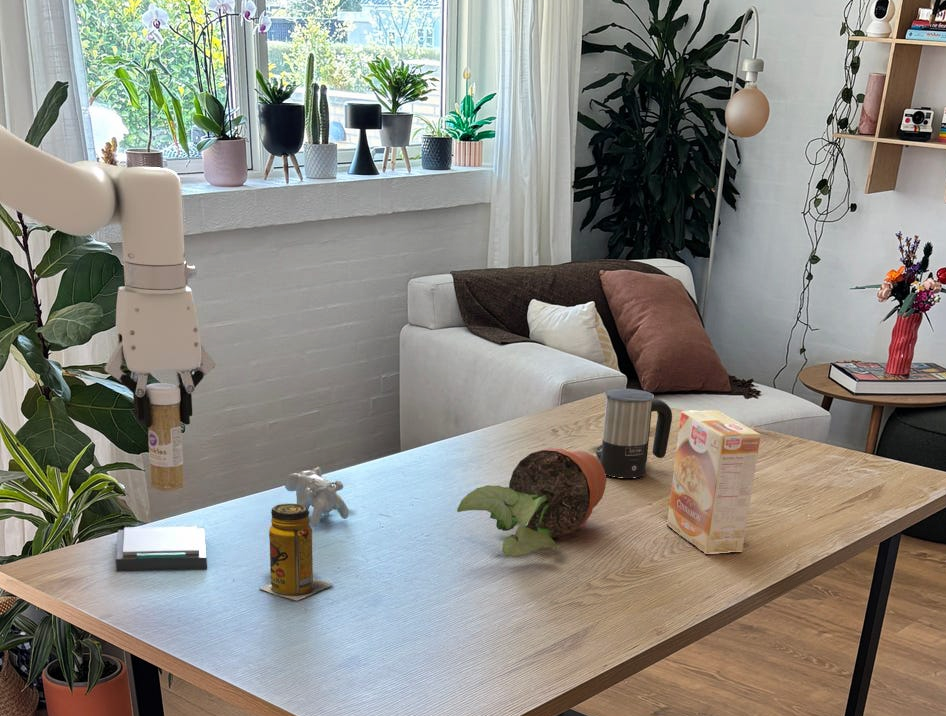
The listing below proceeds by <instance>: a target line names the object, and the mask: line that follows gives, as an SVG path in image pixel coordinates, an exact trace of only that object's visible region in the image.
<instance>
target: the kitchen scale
mask: <svg viewBox="0 0 946 716" xmlns="http://www.w3.org/2000/svg"><path fill="white" fill-rule="evenodd" d="M206 547H207V546H206V537H205V528H198V526H197V525H190V526H189V525H188V526H187V525H185V526H184V525H183V526H182V525H181V526H179V525H178V526H127V527H125V526H124V527H123V529H118V530H117V538H116V552H115V567H116V572H132V571H133V572H134V571H136V572H137V571H138V572H139V571H174V570H175V571H177V570H179V571H181V570H208V561H207V560H208V559H207V548H206Z"/></svg>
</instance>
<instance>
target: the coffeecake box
mask: <svg viewBox="0 0 946 716" xmlns="http://www.w3.org/2000/svg"><path fill="white" fill-rule="evenodd" d="M678 428H679V429H678V434H677V443H676V450H675V451H676V452H675V457H674V458H675V459H674V467H673V475H672V482H671V490H670V498H669V506H668V514H667V521H666V525H667V524H668V525H669V526H670V527H671V528H673V529H674V530H675V531H677V532H678V533H679V534H681V535H682V536H683V537H685V538H686V539H688V540H689V541H690V542H692V543H693V544H694V545H696V546H697V547H699V548H700V549H701V550H703V551H704V552H706V553H710V552H728V551H742V552H743V549H744V542H745V536H746V530H747V524H748V518H749V516H748V515H749V510H750V505H751V498H752V492H753V487H754V486H753V485H754V481H755V480H754V479H755V474H756V473H755V472H756V467H757V461H758V455H759V447H760V442H761V437H762V433H759V432H758V431H755V430H754V429H752V428H750V427H748V426H746V425H745V424H744V423H741V422H739V421H737V420H735V419H734V418H732V417H731V416H729V415H727V414H726V413H723V412H722V411H720V410H716V409H715V410H713V409H712V410H695V409H694V410H693V409H691V410H682V411H681V412H680V419H679V427H678Z"/></svg>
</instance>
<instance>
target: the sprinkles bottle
mask: <svg viewBox="0 0 946 716" xmlns="http://www.w3.org/2000/svg"><path fill="white" fill-rule="evenodd" d="M178 386H179V385H177V384H173V383H168V382H167V383H165V382H156V383H155V382H154V383H150V384H146V390H145V391H146V396H148V397H149V399H150V414H151V426H150V428H147V430H148V431H147V432H148V433H147V435H148V455H149V457H148V458H149V465H150V486H151V488H152V489H154V490H157V491H160V492H175V491H178V490H182V489H183V488H185V480H184V465H183V464H184V456H183V436H182V435H183V434H182V433H183V432H182V422H181V421H180V403H179V402H180V401H181V398H180V388H179V387H178Z"/></svg>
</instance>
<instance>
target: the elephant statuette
mask: <svg viewBox="0 0 946 716" xmlns="http://www.w3.org/2000/svg"><path fill="white" fill-rule="evenodd" d="M284 488H285V490H287V492H295V494H296V495H295V496H296V504H299V505H303V506H305V507H306V508H307V509H308V510H310V507H312V508H313V509H312V513H311V517H310V518H309V520H310V523H309V524H310V527H311V526H312V527H311V528H318V527H319V526H320V523H321V522H320V521H321V518H322V516H323V515H327V516H328V517H329V516H330V513H331V512H332V511H337V512H338V513H339V516H340V517H341V519H343V520H346V519H348V517H349V514H350V510H349V508H348V506H347V504H346V503H345V501H344V500H343V498H342V497H341V495H340V494H338V493H337V492H338V491H341V490H343V489H344V484H343V483H342V481H341V480H338V479H336V480H335V481H332V482H331V481H330V480H328V479H326V477H323V473H322V469H321V468H320V467H319V466H317V467H316V468H313V469H312V470H309V469H308V470H303V471H300V472H299V473H290V474H288V475H287V476H286V478H285V480H284Z"/></svg>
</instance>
